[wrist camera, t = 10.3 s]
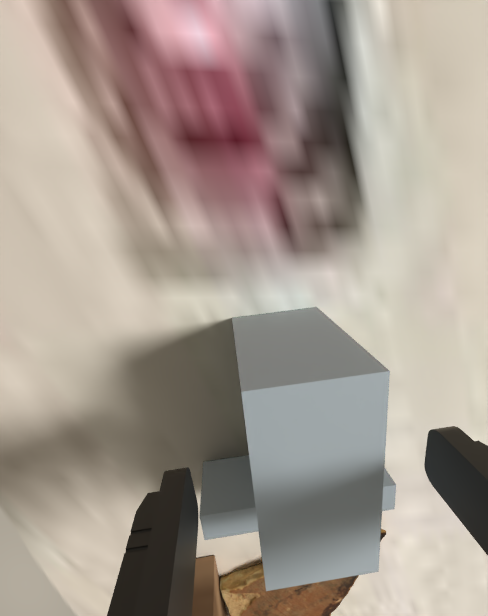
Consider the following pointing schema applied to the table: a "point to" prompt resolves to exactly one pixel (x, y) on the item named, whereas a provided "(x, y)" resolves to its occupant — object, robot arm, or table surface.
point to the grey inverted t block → (305, 451)
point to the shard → (281, 594)
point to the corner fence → (207, 589)
